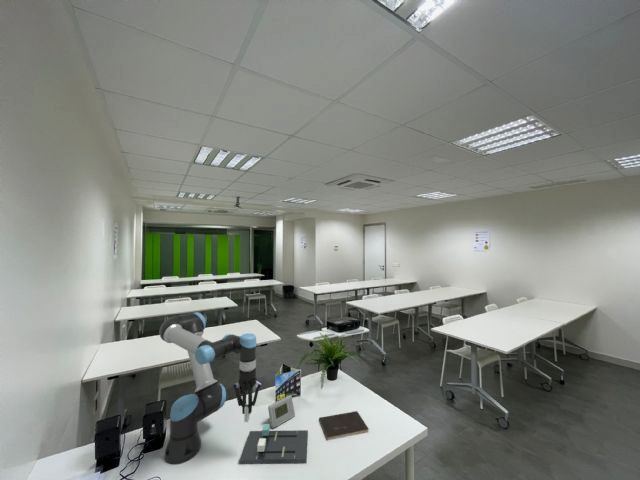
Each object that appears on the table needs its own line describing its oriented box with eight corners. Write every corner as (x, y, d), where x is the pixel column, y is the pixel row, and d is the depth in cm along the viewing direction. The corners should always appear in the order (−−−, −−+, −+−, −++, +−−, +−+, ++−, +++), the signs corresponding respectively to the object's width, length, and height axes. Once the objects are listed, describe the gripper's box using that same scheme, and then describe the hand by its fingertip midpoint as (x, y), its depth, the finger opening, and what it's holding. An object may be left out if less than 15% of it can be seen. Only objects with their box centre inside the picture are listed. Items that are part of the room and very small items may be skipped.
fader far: (262, 438, 123) (262, 430, 124) (263, 432, 128) (263, 424, 128) (268, 438, 124) (268, 430, 124) (269, 432, 128) (269, 423, 128)
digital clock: (271, 430, 133) (271, 410, 133) (265, 421, 140) (265, 401, 141) (298, 419, 142) (298, 400, 142) (290, 411, 149) (291, 392, 150)
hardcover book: (368, 433, 131) (368, 428, 131) (326, 441, 126) (326, 437, 126) (356, 414, 147) (356, 410, 147) (319, 421, 141) (319, 416, 141)
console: (239, 464, 111) (239, 459, 112) (250, 435, 129) (250, 430, 130) (306, 463, 112) (306, 458, 112) (307, 434, 130) (307, 430, 130)
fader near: (257, 455, 114) (257, 445, 114) (259, 447, 118) (259, 438, 118) (263, 455, 114) (264, 445, 114) (265, 447, 118) (265, 438, 118)
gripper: (230, 372, 114) (229, 426, 112) (260, 372, 114) (259, 425, 113) (236, 365, 121) (235, 415, 120) (263, 364, 121) (262, 414, 120)
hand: (246, 420), depth 116 cm, fingers closed
